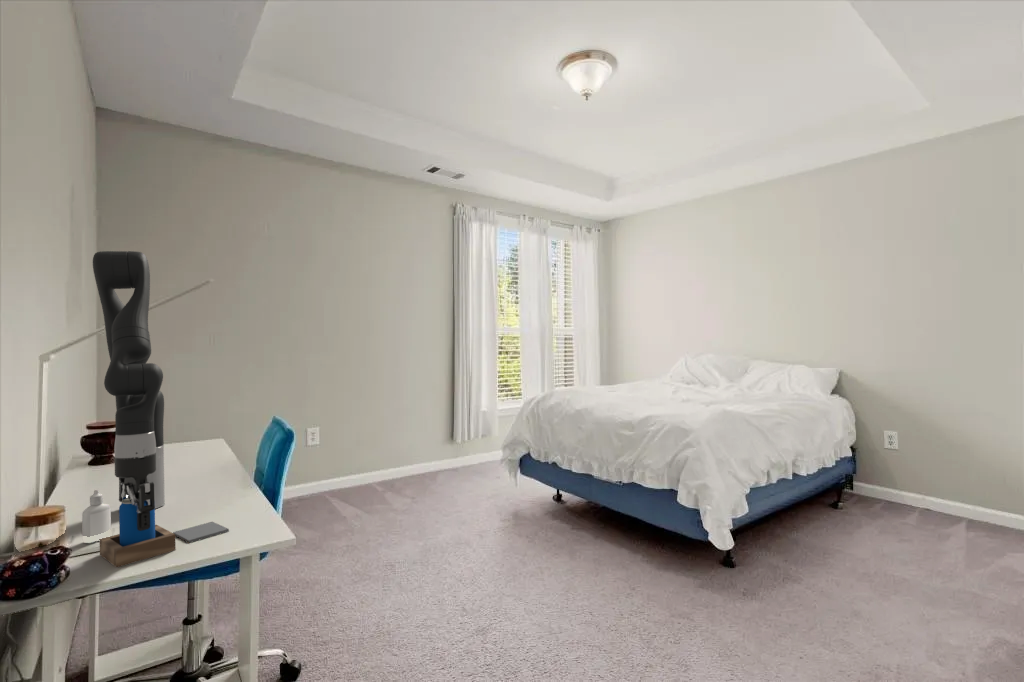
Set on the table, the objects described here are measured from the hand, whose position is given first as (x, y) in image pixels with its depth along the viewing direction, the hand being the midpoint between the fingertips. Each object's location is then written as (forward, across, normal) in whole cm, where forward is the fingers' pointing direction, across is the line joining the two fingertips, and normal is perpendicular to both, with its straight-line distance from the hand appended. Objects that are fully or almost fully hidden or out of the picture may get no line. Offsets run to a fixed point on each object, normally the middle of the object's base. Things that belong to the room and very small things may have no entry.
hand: (136, 525), depth 116 cm
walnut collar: (+6, 0, 0) cm, 6 cm away
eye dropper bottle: (+6, -17, -3) cm, 18 cm away
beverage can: (+6, 0, 0) cm, 6 cm away
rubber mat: (+6, -1, +14) cm, 15 cm away
